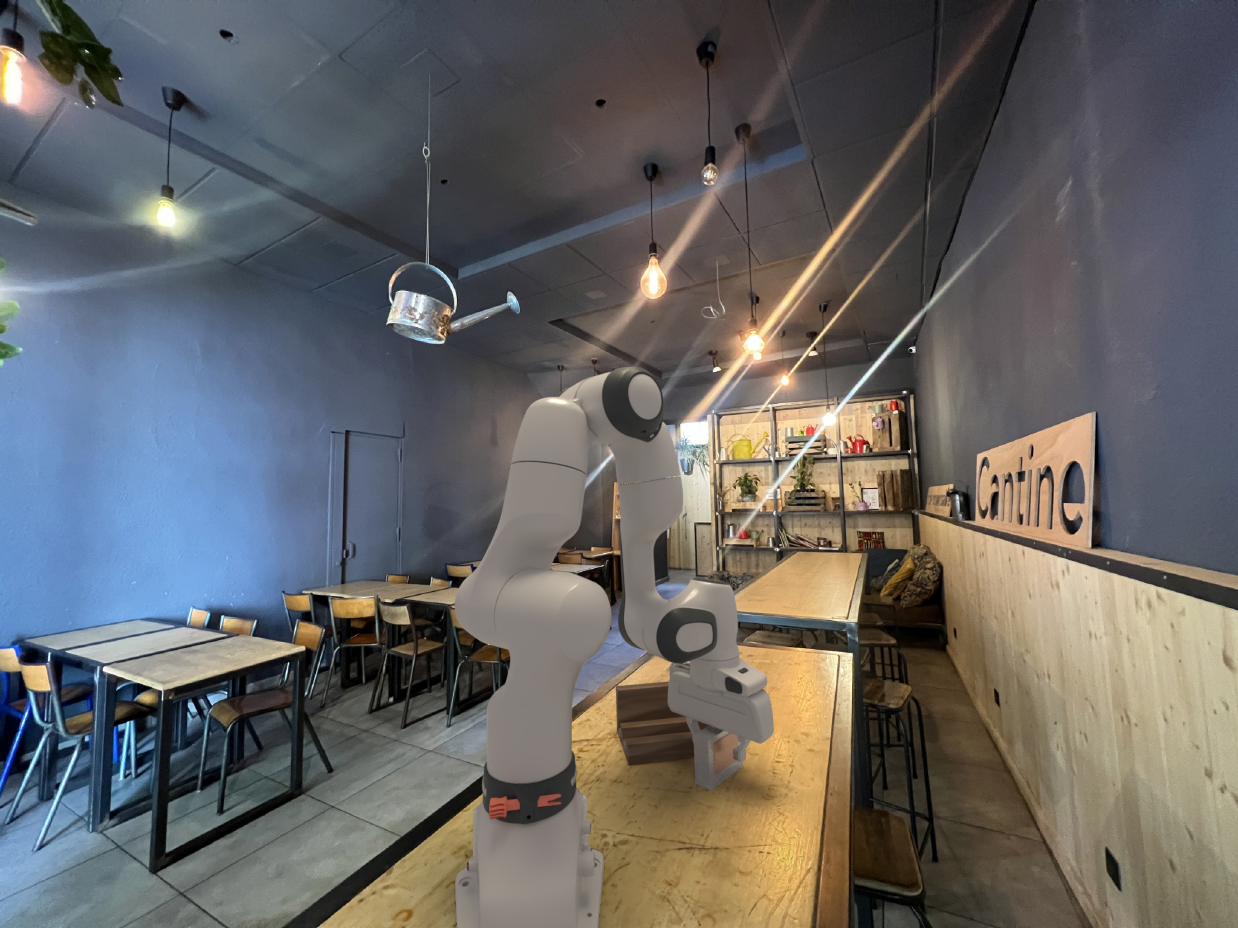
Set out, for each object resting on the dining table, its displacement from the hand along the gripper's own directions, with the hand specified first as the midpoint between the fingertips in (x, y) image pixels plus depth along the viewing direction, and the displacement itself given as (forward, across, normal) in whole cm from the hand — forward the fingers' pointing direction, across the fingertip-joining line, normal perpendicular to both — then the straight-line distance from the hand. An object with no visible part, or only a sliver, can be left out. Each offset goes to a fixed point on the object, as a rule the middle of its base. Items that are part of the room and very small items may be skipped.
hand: (718, 751), depth 84 cm
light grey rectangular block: (+4, 0, 0) cm, 4 cm away
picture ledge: (+4, -14, +3) cm, 15 cm away
